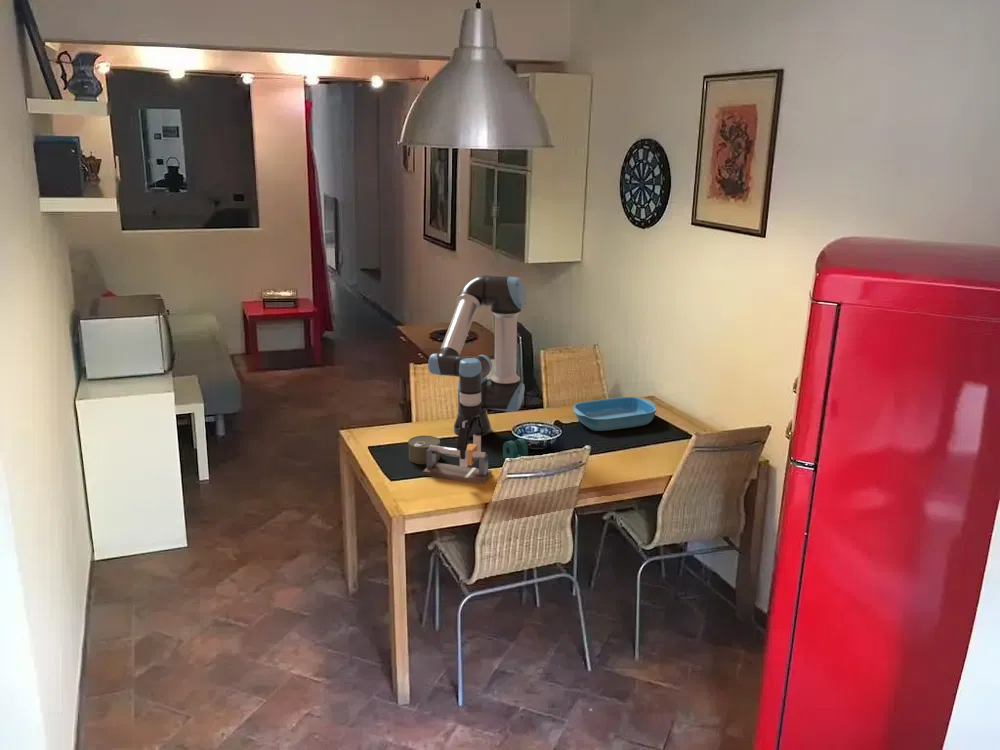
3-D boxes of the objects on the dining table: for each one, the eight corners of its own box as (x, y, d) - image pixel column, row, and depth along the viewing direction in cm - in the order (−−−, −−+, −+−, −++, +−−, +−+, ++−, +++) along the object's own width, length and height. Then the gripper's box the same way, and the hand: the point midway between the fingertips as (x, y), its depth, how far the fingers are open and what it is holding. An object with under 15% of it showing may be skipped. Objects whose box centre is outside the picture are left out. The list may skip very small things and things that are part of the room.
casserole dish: (586, 436, 335) (587, 420, 333) (563, 418, 355) (564, 402, 353) (665, 426, 348) (666, 410, 346) (639, 409, 368) (640, 394, 366)
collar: (469, 458, 297) (469, 443, 295) (477, 459, 296) (477, 444, 295) (463, 464, 292) (463, 449, 290) (471, 465, 291) (471, 450, 289)
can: (446, 456, 314) (446, 439, 312) (428, 467, 304) (427, 449, 302) (420, 449, 320) (420, 433, 318) (401, 460, 310) (401, 443, 308)
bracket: (502, 458, 312) (503, 439, 310) (517, 455, 316) (518, 435, 313) (530, 475, 298) (530, 455, 296) (545, 471, 301) (545, 451, 299)
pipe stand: (432, 465, 305) (432, 440, 302) (491, 474, 298) (491, 448, 295) (422, 475, 297) (422, 448, 294) (483, 484, 290) (483, 457, 287)
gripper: (472, 390, 300) (472, 445, 306) (446, 413, 277) (447, 471, 284) (492, 393, 298) (491, 447, 304) (467, 415, 275) (468, 474, 282)
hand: (470, 459), depth 294 cm, fingers open, 13 cm apart
